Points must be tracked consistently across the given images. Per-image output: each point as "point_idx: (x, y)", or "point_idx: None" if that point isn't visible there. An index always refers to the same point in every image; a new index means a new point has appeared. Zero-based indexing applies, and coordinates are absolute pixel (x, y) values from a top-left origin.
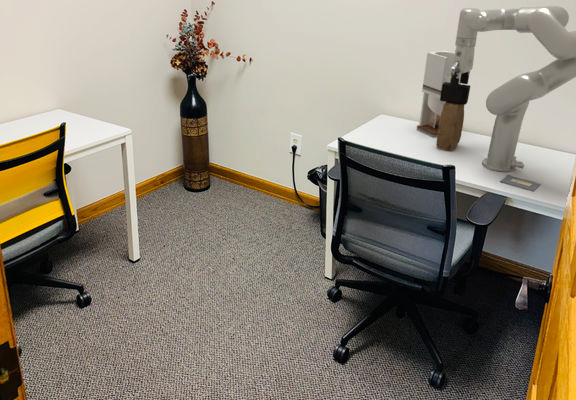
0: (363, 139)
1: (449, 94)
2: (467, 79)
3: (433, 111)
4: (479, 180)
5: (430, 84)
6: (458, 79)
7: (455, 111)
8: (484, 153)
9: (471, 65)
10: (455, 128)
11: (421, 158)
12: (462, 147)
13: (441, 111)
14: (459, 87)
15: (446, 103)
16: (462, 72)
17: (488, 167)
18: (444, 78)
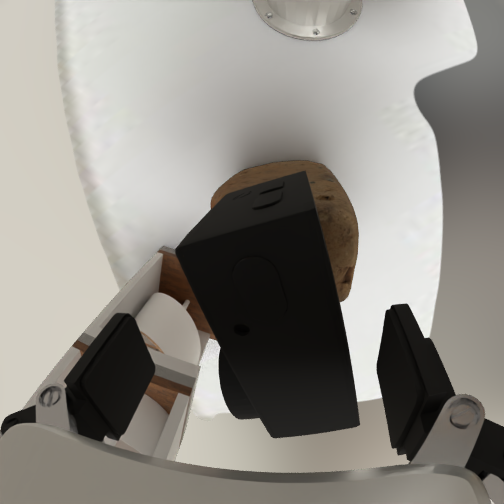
0: None
1: (343, 324)
2: (109, 346)
3: (199, 339)
4: (447, 12)
5: (178, 441)
6: (440, 384)
7: (350, 204)
8: (233, 74)
9: (23, 500)
10: (320, 172)
11: (435, 201)
12: (242, 154)
13: (178, 319)
14: (339, 308)
15: (342, 291)
16: (465, 470)
17: (361, 8)
18: (130, 438)
